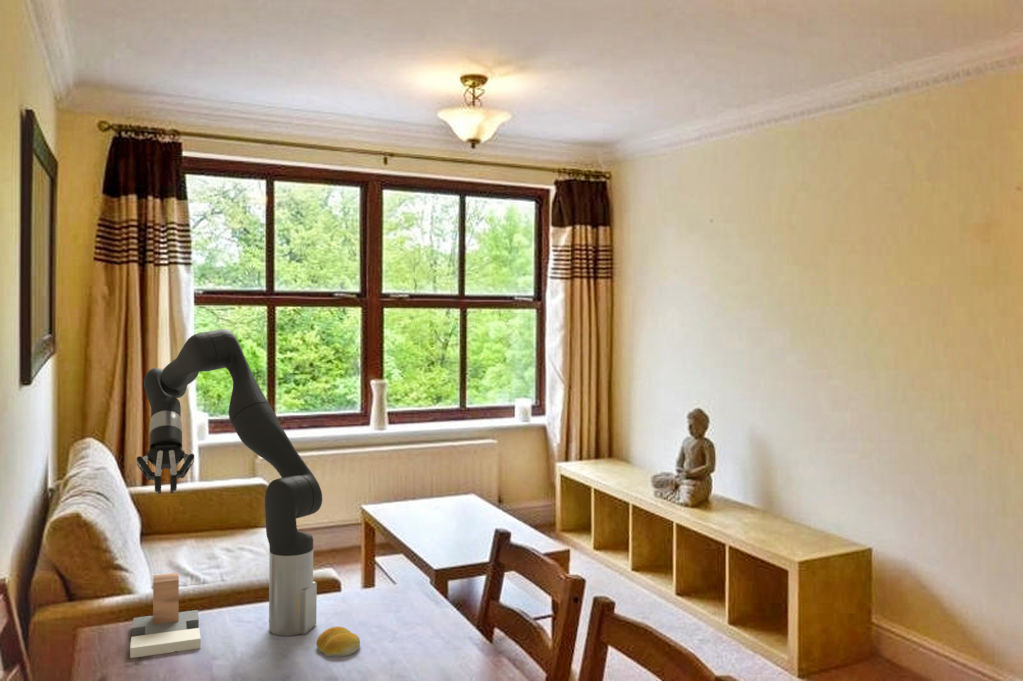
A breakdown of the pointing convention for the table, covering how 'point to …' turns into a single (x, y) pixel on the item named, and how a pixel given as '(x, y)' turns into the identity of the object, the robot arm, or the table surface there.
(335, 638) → the bread roll
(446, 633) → the table surface
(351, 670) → the table surface
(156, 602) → the block
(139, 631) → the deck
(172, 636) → the pad
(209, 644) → the table surface
